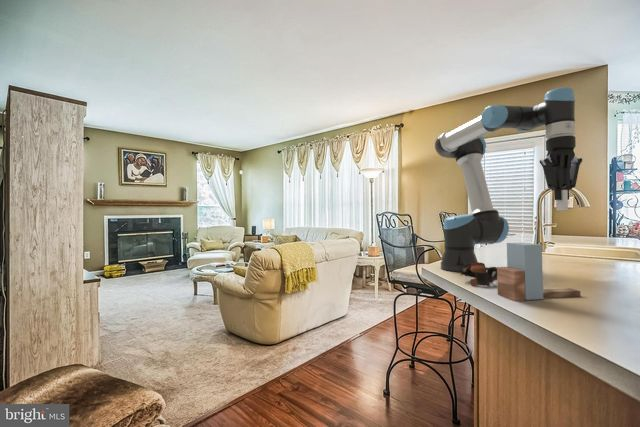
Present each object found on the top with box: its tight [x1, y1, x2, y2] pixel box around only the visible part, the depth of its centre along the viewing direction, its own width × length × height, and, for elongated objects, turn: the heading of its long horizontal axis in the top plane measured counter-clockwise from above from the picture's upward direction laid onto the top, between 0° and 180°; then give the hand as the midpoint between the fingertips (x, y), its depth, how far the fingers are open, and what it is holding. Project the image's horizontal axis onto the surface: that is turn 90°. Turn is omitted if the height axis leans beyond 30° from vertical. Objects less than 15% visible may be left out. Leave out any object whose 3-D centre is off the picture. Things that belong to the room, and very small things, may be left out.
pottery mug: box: [460, 261, 498, 287], centre depth 103 cm, size 12×10×8 cm
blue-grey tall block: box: [506, 242, 544, 301], centre depth 86 cm, size 5×7×15 cm
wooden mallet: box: [496, 266, 581, 302], centre depth 86 cm, size 21×7×8 cm, turn 94°
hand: (562, 210), depth 98 cm, fingers closed
